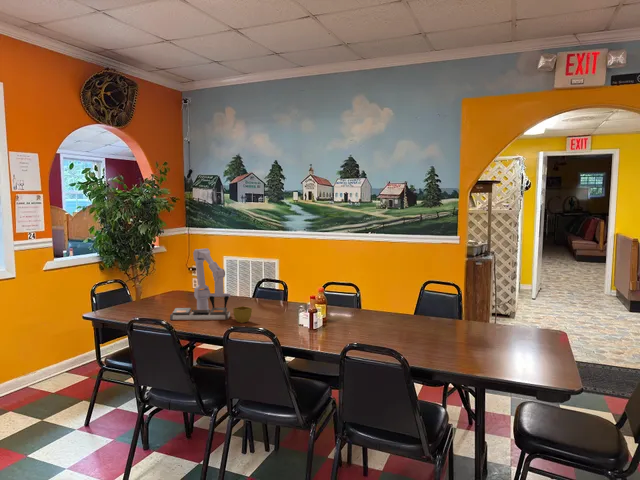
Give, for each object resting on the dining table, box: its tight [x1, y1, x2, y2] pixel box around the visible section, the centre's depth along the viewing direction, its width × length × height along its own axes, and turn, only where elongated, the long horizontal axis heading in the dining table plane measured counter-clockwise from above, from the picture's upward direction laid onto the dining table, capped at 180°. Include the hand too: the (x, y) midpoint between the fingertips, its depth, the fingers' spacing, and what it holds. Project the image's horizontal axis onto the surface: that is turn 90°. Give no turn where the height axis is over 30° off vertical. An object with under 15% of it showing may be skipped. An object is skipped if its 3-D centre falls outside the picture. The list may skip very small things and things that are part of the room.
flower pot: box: [232, 305, 253, 324], centre depth 285 cm, size 9×9×9 cm
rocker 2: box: [209, 307, 228, 314], centre depth 295 cm, size 7×10×2 cm
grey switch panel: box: [169, 310, 231, 321], centre depth 295 cm, size 9×37×3 cm, turn 92°
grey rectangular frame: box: [172, 307, 192, 314], centre depth 295 cm, size 7×10×2 cm
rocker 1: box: [191, 309, 210, 313], centre depth 295 cm, size 7×10×2 cm
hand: (219, 307), depth 297 cm, fingers open, 7 cm apart
